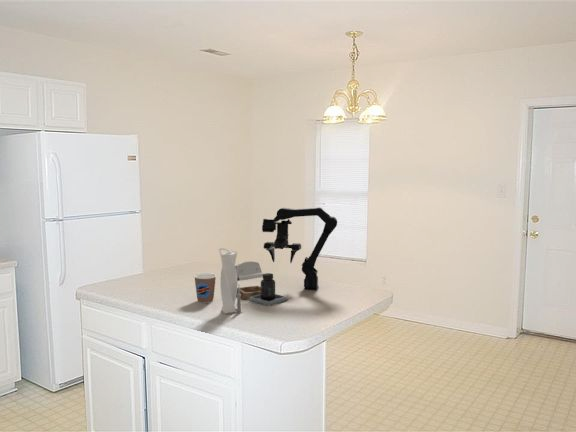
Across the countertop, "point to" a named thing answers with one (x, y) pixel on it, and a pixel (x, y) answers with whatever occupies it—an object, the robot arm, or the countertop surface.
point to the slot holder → (249, 291)
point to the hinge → (248, 270)
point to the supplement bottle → (268, 287)
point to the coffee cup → (205, 287)
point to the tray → (277, 300)
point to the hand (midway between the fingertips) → (282, 262)
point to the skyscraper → (229, 283)
